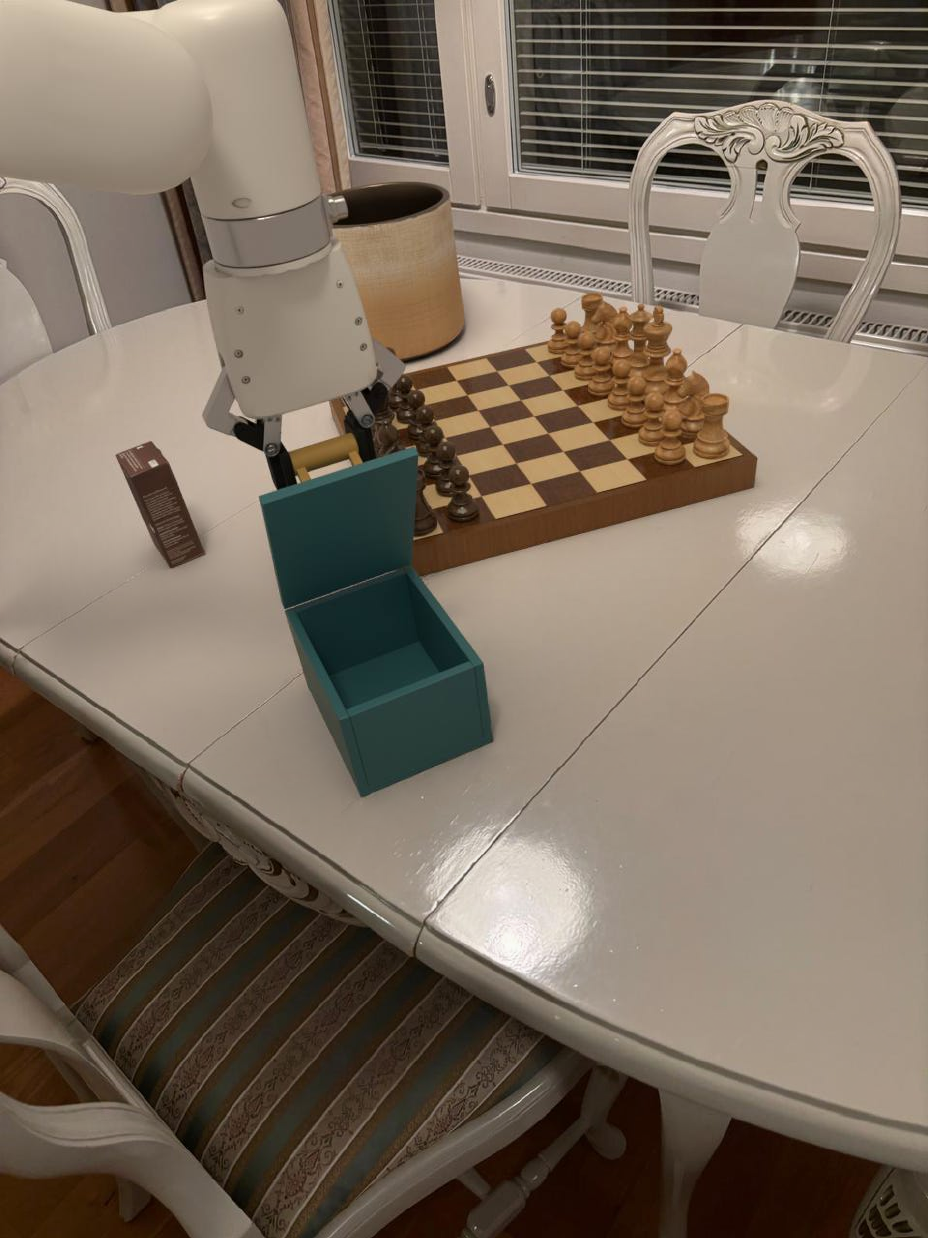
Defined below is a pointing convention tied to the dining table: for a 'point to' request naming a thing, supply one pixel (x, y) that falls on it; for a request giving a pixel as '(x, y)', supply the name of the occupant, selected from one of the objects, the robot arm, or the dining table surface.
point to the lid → (340, 519)
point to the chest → (391, 678)
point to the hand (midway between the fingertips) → (327, 479)
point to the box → (160, 503)
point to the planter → (404, 264)
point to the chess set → (556, 437)
